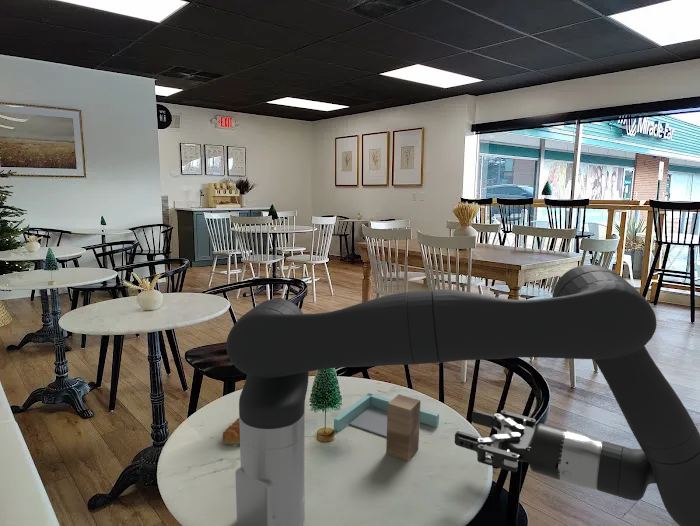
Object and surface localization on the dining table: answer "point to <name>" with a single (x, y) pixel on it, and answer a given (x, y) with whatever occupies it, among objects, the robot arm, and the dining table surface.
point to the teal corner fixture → (375, 415)
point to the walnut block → (403, 427)
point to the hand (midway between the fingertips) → (464, 426)
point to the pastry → (232, 434)
